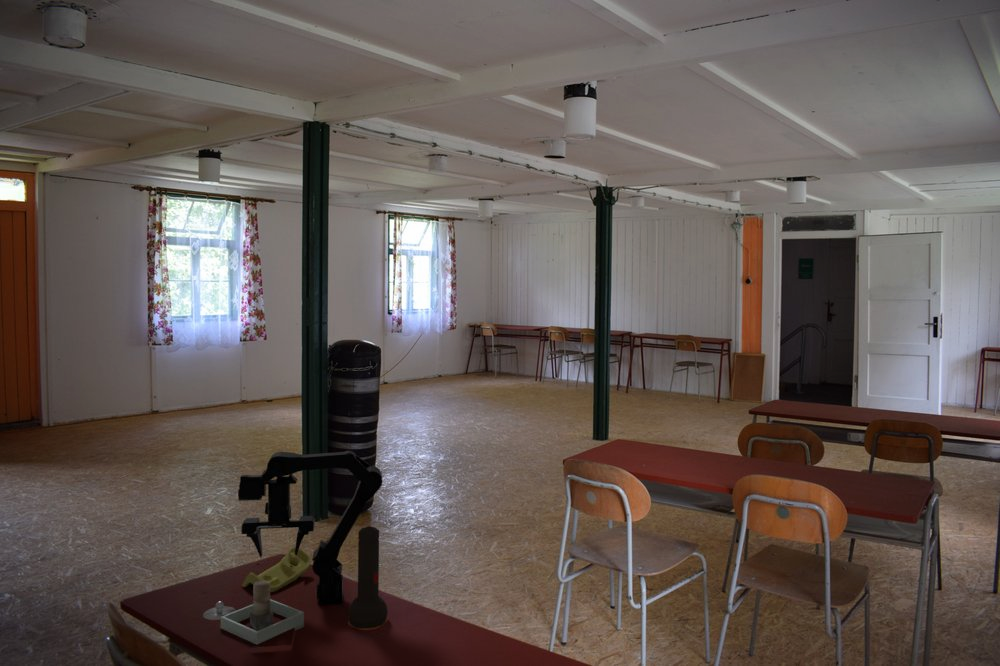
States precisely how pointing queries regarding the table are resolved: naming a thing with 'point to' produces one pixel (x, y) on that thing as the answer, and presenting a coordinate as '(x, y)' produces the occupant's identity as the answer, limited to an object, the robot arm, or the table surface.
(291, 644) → the table surface
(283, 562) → the plastic component
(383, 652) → the table surface
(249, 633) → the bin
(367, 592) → the flashlight
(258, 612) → the strut
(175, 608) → the table surface
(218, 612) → the stud mount
